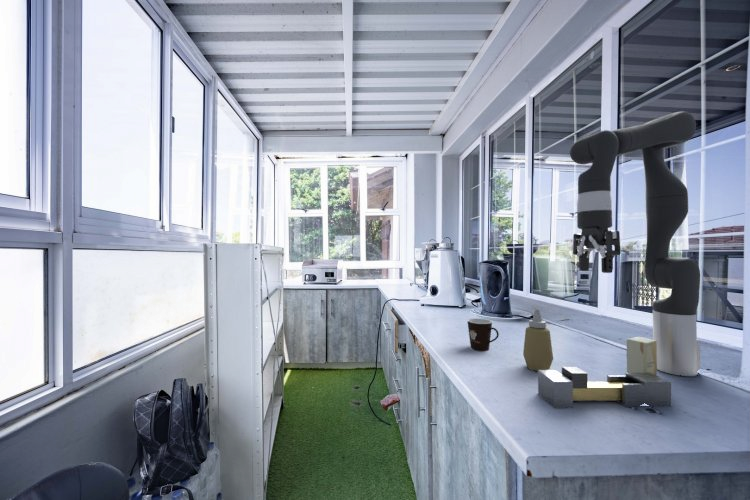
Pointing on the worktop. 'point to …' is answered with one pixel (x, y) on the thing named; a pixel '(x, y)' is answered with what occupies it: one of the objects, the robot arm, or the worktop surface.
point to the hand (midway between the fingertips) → (594, 271)
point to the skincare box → (641, 355)
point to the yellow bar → (591, 386)
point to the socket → (555, 388)
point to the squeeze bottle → (537, 344)
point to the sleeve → (643, 389)
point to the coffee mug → (480, 333)
